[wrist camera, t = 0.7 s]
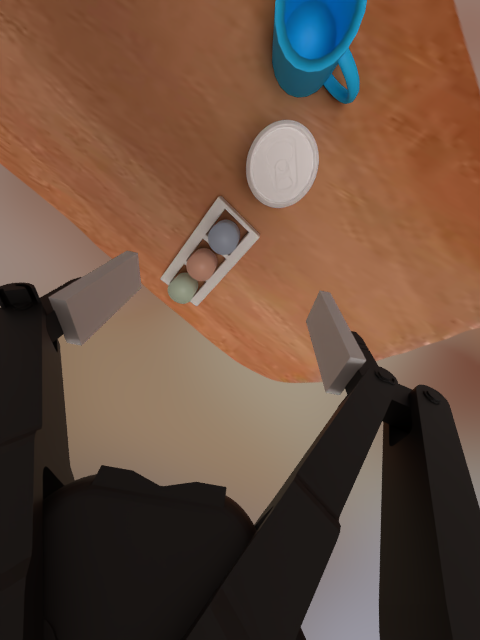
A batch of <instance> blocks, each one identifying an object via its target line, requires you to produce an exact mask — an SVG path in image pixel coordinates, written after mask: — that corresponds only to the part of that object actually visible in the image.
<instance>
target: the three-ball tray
mask: <svg viewBox="0 0 480 640" xmlns="http://www.w3.org/2000/svg"><path fill="white" fill-rule="evenodd" d="M225 209H226V210H227V211H228V212H229V213H230V214H231V215H232V216H233V217H234V218H235V219H236V220H237V221H238V222H239V223H240V224H241V225H242V226H243V227H244V228H245V229H246V230H247V231H248V233H247V234H246V235H245V236H244V237H243V239H242V240H241V241H240V242H239V243H238V244H237V247H236V249H235V250H234V251H233V252H232V253H230V254H227V255H222V256H223V257H225V259H224V261H223V262H222V263H221V264H220V265H219V266H218V268H217V269H216V270H215V271H214V273H213V275H212V276H211V278H210V279H208V280H206V282H205V283H204V284H203V285H202V286H201V287H200V288H199V290H198V291H197V292H196V293H195V294H194V296H193V298H192V299H191V301H190V302H191V303H193V304H194V305H195V306H198V305H199V304H200V302H201V301H202V300H203V299H204V298H205V297H206V296H207V295H208V294H209V293H210V291H211V290H212V289H213V288H214V287H215V286H216V285H217V284H218V283H219V282H220V280H221V279H222V278H223V277H224V276H225V275H226V274H227V273H228V272H229V271H230V269H231V268H232V267H233V266H234V265H235V264H236V263H237V262H238V261H239V260H240V258H241V257H242V256H243V255H244V254H245V253H246V252H247V251H248V250H249V249H250V247H251V246H252V245H253V244H254V243H255V242H256V241H257V240H258V239H259V237H260V234H259V233H258V232H257V231H256V230H255V229H254V228H253V227H252V226H251V225H250V224H249V223H248V222H247V221H246V220H245V219H244V218H243V217H242V216H241V215H240V214H239V213H238V212H237V211H236V210H235V209H234V208H233V207H232V206H231V205H230V204H229V203H228V202H227V201H226V200H225V199H224V198H223V197H222V196H219V197H218V198H217V199H216V201H215V202H214V204H213V205H212V207H211V208H210V209H209V211H208V212H207V214H206V215H205V216H204V218H203V219H202V221H201V222H200V223H199V225H198V226H197V228H196V229H195V231H194V232H193V233H192V235H191V236H190V238H189V239H188V240H187V242H186V243H185V245H184V246H183V247H182V249H181V250H180V252H179V253H178V255H177V256H176V257H175V259H174V260H173V262H172V263H171V264H170V266H169V267H168V269H167V270H166V271H165V273H164V274H163V276H162V277H161V280H162V281H164V282H165V283H166V284H168V285H169V284H170V283H171V282H172V281H173V280H174V279H175V278H174V277H175V276H176V274H177V273H178V272H179V270H180V269H181V268H182V266H183V265H184V264H185V265H186V264H187V261H188V259H189V258H190V256H191V254H192V253H193V252H194V250H195V249H196V248H197V246H198V245H199V244H200V242H201V241H202V240H203V239H204V240H205V241H206V242H208V235H209V230H210V229H211V228H212V226H213V225H214V224H215V222H216V221H217V220H218V218H219V217H220V216H221V214H222V213H223V212H224V210H225ZM208 243H209V242H208Z"/></svg>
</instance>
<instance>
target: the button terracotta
mask: <svg viewBox="0 0 480 640" xmlns="http://www.w3.org/2000/svg"><path fill="white" fill-rule="evenodd" d="M217 264H218V260H217V257H216V255H215V254H214V252H212V251H211V250H209V249H207V248H201V249H198V250H197V251H196V252H195V253H194V254H193V255H192V256H191V257H190V258H189V259H188V261H187V264H186V268H187V272H188V274H189V275H190V276H191V277H192V278H193V279H195V280H197V281H206V280H208V279H210V278H211V276H212V275H213V273H214V271H215V269H216V267H217Z"/></svg>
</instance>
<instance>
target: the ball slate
mask: <svg viewBox="0 0 480 640" xmlns="http://www.w3.org/2000/svg"><path fill="white" fill-rule="evenodd" d="M239 239H240V230H239V228H238V226H237V225H236V224H235V223H234V222H233V221H231V220H221V221H219V222H218V223H217V224H216V225H215V226H214V227H212V229H211V230H210V232H209V235H208V242H209V245H210V247H211V248H212V250H213V251H214V252H216V253H218V254H220V255H227V254H230V253H232V252H233V251H234V250H235V249H236V247H237V244H238V242H239Z"/></svg>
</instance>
